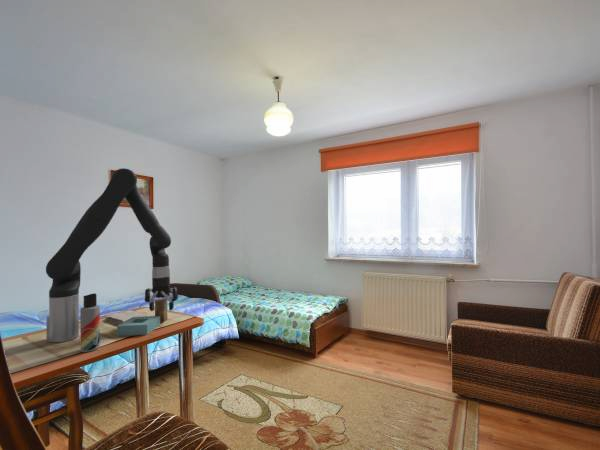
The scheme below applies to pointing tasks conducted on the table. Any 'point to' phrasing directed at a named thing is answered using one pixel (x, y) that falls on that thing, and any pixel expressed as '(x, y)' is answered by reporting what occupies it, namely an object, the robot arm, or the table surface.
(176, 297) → the robot arm
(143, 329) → the socket block
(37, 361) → the table surface
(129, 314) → the washcloth
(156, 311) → the peg
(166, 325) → the table surface
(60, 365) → the table surface
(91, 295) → the lotion bottle
